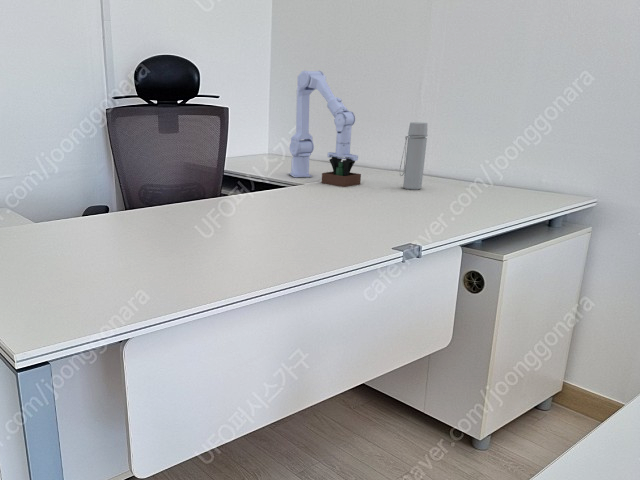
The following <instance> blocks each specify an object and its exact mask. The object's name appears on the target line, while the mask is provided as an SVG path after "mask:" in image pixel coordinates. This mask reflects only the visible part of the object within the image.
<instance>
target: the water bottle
mask: <svg viewBox="0 0 640 480" xmlns="http://www.w3.org/2000/svg"><path fill="white" fill-rule="evenodd" d="M428 124H429V123H428V122H421V121H420V122H419V121H418V122H417V121H415V122H413V121H412V122H409V127H408V130H407V131H408V132H407V135H405V143H404V147H403V152H402V155H401V161H400V165H399V170H401V168H402V163H403V173H402V174H401V173H399V176H400V177H403V184H402V187H403V189H405V190H411V191H416V190H417V191H418V190H420V189H422V185H423V179H424V168H425V161H426V160H425V159H426V153H427V152H426V149H427V143H428ZM404 157H405V160H404V162H403V159H404Z"/></svg>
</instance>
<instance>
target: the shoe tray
mask: <svg viewBox="0 0 640 480" xmlns="http://www.w3.org/2000/svg"><path fill="white" fill-rule="evenodd" d="M361 177H362V174H361V173H357V172H350V173H349V176H340V175H334V172H333V171H327V172H322V173H321V184H325V185H332V186H338V187H343V188H345V187H351V186H356V185H357V186H358V185H361Z"/></svg>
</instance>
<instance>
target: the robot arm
mask: <svg viewBox="0 0 640 480" xmlns="http://www.w3.org/2000/svg"><path fill="white" fill-rule="evenodd" d="M296 88H297V89H296V109H295V111H296V112H295V113H296V114H295V115H296V117H295V120H296V121H295V128H296V129H295V133H294V134H293V135H292V136H291V137H290V143H289V152H290V154H291V156H292V158H291V160H290V161H291V166H290V167H291V168H290V172H289V173H288V175H290V176H292V177H293V178H312V175H311V174H310V157H311V155H312V153H313V152H314V149H315V145H314V141H313V140H314V139H313V135H311V133H309V132H310V95H311V94H312V92H314V91H315V90H317V91H318V92H319V94H320V95H321V96H322V97H323V99H324V100H325V101H326V102H327V104H326V107H327V109H328V110H329V112H330V113H331V115H332V116H333V118H334V119H333V121H334V122H333V123H334V125H335V130H336V137H335V138H336V139H335V141H336V143H335V152H334V151H333V152H332V151H331V152H327V158H329V163H330V165H331V168H332V172H334V175H336V167H338V165H339V162H343V166H344V176H349V173H351V170H352V168H353V167H354V164H355V163H356V162H357V161H359V155H357V154H353V153H351V141H352V126H354V124H355V122H356V115H355V113H354V112H353V111H350V110H349V109H348V108H347V107H346V106H345V104H344V102H342V101H343V100H342V98H340V97H338V96H335V95H334V93H333V91H332V89H331V87H330V86H329V84H328V82H327V76H326V75H325V73H324V72H323V71H321V70H302V71H301V72H300V73H299V74H298V75H297V87H296Z"/></svg>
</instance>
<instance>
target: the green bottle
mask: <svg viewBox="0 0 640 480" xmlns="http://www.w3.org/2000/svg"><path fill="white" fill-rule="evenodd" d="M336 175H340V176H344V166H343V162H342V161H341V162H339V165H338V167H336Z"/></svg>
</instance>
